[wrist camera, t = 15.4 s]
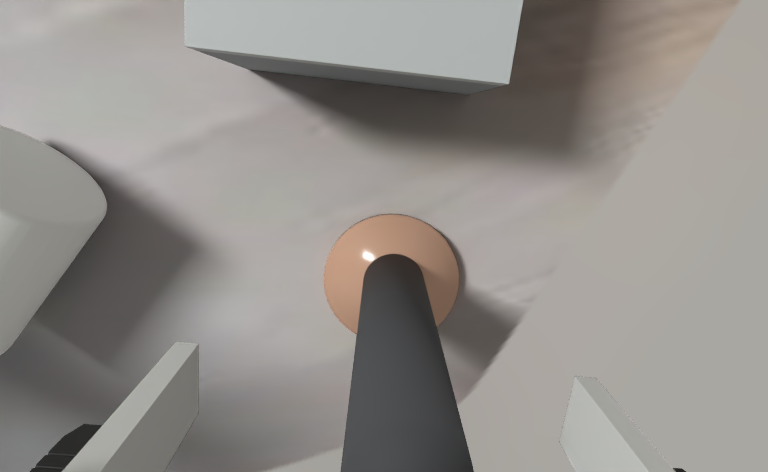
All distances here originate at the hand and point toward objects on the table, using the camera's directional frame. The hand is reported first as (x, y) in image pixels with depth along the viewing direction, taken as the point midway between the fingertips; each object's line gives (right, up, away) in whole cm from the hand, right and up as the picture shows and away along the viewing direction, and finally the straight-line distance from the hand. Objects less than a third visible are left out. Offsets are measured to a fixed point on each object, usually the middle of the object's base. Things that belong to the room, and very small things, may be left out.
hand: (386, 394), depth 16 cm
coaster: (0, +3, +12) cm, 12 cm away
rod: (0, +3, +11) cm, 11 cm away
